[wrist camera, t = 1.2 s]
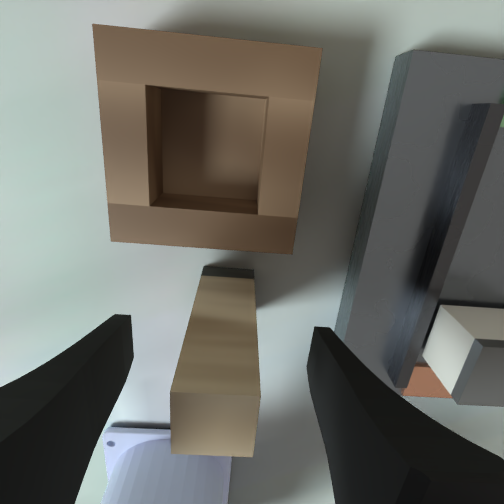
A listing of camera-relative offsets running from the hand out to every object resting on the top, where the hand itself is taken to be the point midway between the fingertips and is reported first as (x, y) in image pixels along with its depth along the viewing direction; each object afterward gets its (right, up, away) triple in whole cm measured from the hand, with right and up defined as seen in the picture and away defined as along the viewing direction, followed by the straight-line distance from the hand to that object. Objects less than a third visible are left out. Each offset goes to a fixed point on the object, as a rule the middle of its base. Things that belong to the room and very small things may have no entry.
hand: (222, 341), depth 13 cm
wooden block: (0, +2, +4) cm, 4 cm away
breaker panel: (+12, +3, +3) cm, 13 cm away
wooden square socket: (0, +8, +1) cm, 8 cm away
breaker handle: (+12, 0, +3) cm, 12 cm away
